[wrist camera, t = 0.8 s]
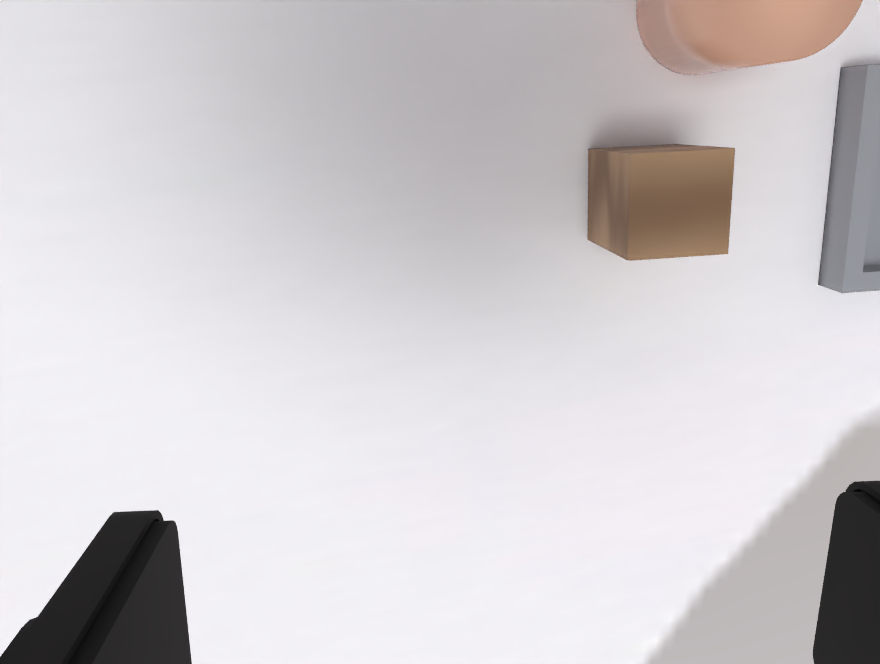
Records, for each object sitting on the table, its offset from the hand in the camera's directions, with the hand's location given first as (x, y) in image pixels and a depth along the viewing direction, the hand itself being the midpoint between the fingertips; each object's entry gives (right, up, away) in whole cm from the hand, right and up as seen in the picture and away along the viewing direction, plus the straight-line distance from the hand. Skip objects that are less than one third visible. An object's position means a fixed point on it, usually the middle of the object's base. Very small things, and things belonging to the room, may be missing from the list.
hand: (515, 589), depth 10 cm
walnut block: (+9, +11, +26) cm, 30 cm away
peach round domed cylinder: (+11, +19, +24) cm, 33 cm away
